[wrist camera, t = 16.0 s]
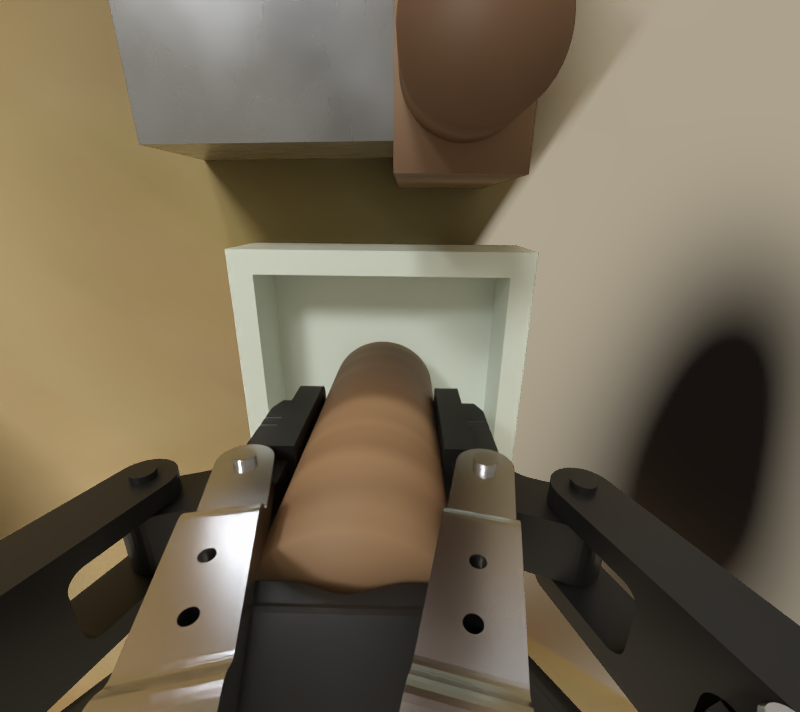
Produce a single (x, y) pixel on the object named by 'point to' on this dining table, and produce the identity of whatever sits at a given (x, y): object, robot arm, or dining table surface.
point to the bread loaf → (364, 482)
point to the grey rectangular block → (260, 76)
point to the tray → (384, 318)
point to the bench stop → (472, 86)
